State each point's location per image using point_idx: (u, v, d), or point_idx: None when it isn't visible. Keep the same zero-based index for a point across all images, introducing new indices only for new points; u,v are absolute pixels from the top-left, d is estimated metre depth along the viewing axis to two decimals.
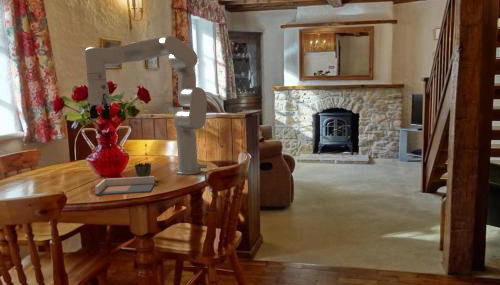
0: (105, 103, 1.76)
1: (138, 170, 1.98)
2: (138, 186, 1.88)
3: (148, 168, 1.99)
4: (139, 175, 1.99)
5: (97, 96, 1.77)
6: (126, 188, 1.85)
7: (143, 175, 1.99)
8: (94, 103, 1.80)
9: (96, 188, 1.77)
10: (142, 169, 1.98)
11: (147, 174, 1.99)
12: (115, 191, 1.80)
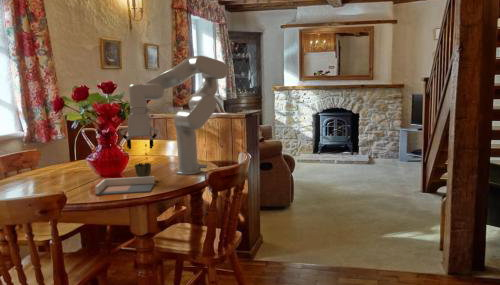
0: (154, 134, 1.99)
1: (138, 170, 1.98)
2: (138, 186, 1.88)
3: (148, 168, 1.99)
4: (139, 175, 1.99)
5: (147, 128, 1.97)
6: (126, 188, 1.85)
7: (143, 175, 1.99)
8: (139, 134, 1.97)
9: (96, 188, 1.77)
10: (142, 169, 1.98)
11: (147, 174, 1.99)
12: (115, 191, 1.80)
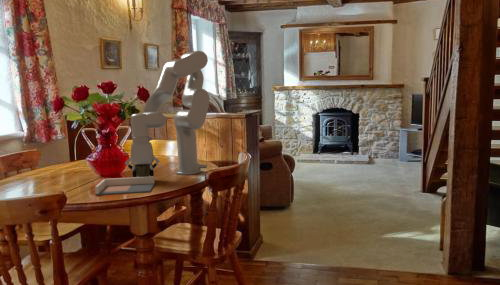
0: (154, 164, 2.00)
1: (138, 170, 1.98)
2: (138, 186, 1.88)
3: (148, 168, 1.99)
4: (139, 175, 1.99)
5: (149, 157, 1.98)
6: (126, 188, 1.85)
7: (143, 175, 1.99)
8: (142, 163, 1.99)
9: (96, 188, 1.77)
10: (142, 169, 1.98)
11: (147, 174, 1.99)
12: (115, 191, 1.80)
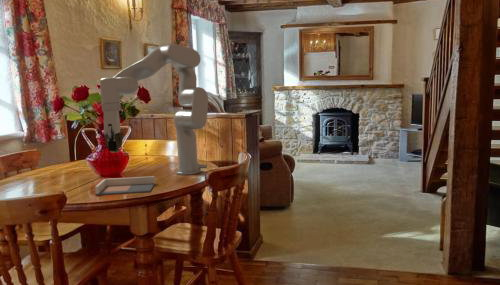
0: None
1: (120, 139, 1.82)
2: (138, 186, 1.88)
3: None
4: (120, 145, 1.82)
5: None
6: (126, 188, 1.85)
7: (121, 144, 1.84)
8: (118, 131, 1.83)
9: (96, 188, 1.77)
10: (122, 137, 1.83)
11: None
12: (115, 191, 1.80)
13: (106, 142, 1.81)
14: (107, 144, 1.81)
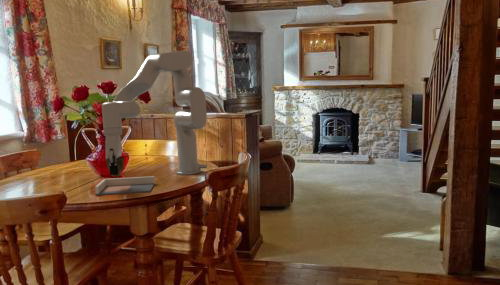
0: None
1: (121, 163, 1.83)
2: (138, 186, 1.88)
3: None
4: (121, 168, 1.83)
5: (121, 148, 1.87)
6: (126, 188, 1.85)
7: None
8: (119, 155, 1.84)
9: (96, 188, 1.77)
10: (123, 161, 1.85)
11: None
12: (115, 191, 1.80)
13: (107, 166, 1.82)
14: (108, 168, 1.82)
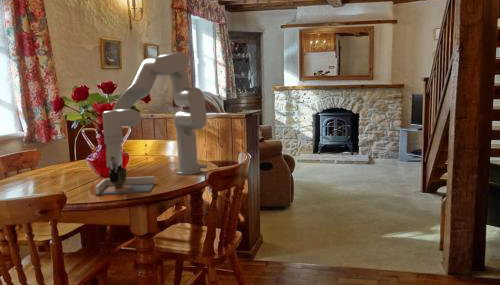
0: None
1: (124, 175, 1.84)
2: (138, 186, 1.88)
3: None
4: (123, 181, 1.85)
5: None
6: (126, 188, 1.85)
7: None
8: (120, 163, 1.84)
9: (96, 188, 1.77)
10: (125, 173, 1.86)
11: None
12: (115, 191, 1.80)
13: None
14: None
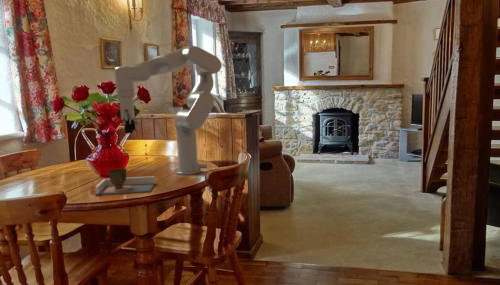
0: None
1: (124, 175, 1.84)
2: (138, 186, 1.88)
3: None
4: (123, 181, 1.85)
5: None
6: (126, 188, 1.85)
7: (125, 180, 1.87)
8: (133, 116, 1.97)
9: (96, 188, 1.77)
10: (125, 173, 1.86)
11: None
12: (115, 191, 1.80)
13: (110, 178, 1.84)
14: (111, 180, 1.84)
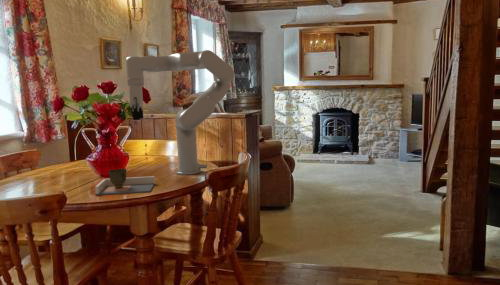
0: None
1: (124, 175, 1.84)
2: (138, 186, 1.88)
3: None
4: (123, 181, 1.85)
5: None
6: (126, 188, 1.85)
7: (125, 180, 1.87)
8: (141, 105, 2.06)
9: (96, 188, 1.77)
10: (125, 173, 1.86)
11: None
12: (115, 191, 1.80)
13: (110, 178, 1.84)
14: (111, 180, 1.84)
